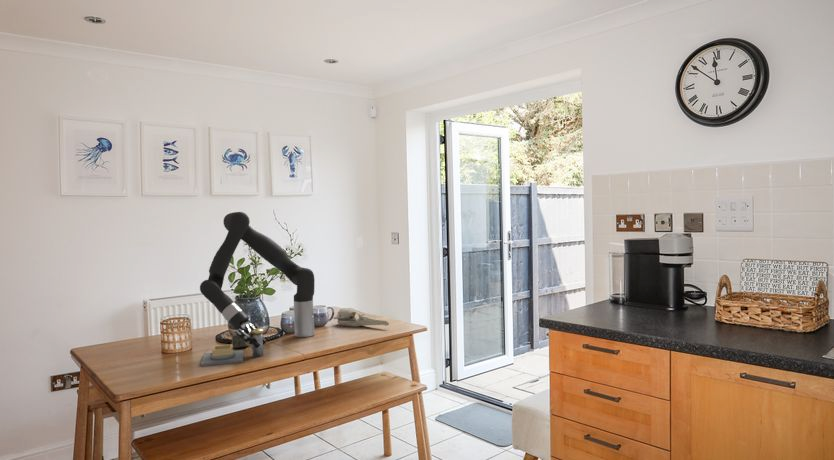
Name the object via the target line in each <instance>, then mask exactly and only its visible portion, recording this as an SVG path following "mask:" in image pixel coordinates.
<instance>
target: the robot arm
mask: <svg viewBox="0 0 834 460" xmlns="http://www.w3.org/2000/svg"><path fill="white" fill-rule="evenodd" d="M223 226H224V228H225V229H226V231H228V232H227V234H226V237H225V239H224V241H223V242H222V244H221V246H220V247H219V248H218V249H217V251H216V252H215V254H214V257H213V258H212V262H211V264H210V267H209V269H208V273H209V276H208V278H207V279H205V280H203V281H201V282H200V285H199V291H200V293H201V294H202V295H203V296H204V298H206V299H207V300H208V302H210V303H212V305H213V306H214V307H215V308H216V310H217V311H218V312H219V313H220V314H221V315H222V316H223V318H224V320H226V321H227V323H229V325H230V326H231V327H232V328H233V330H235V331H237V330H238V332H237V333H236V334H237V335H238V336H239V337H240V338H242V339H243V340H244V341H245V342H248V341H249V343H251V345H252V344H253V345H254V346H255V347H256V348H258V347H259V346H260V343H259V342H258V341H257V340H256V339H255V338H254V336H253V335H252V333H251V329H255V328H260V326H259V325H258V323H257V322H254V323H252V322H250V321H249V320H250V317H249V316H248V314H246V313H245V311H244V310H243V309H242V308H241V306H239V305H238V304H237V303H236V302H235V301H234V300H233V299H232V298H231V297H230V296H229V295H227V294H226V293H225V292H224V291H223V290H222V287H223V284H224V281H225V275H226V273H227V271H228V268H229V265H230V263H231V261H232V258H233V256H234V253H235V252H236V249H237V248H238V246H239V243H240V242H241V241H243V242H244V243H245V244H247V246H249V248H251V249H252V250H253V251H254V252H256V254H258V255H259V256H260V257H261V258H262V259H263V260H265V261H266V262H267V263H269V264H270V265H271V266H273V267H274V268H276V269H277V270H279V271H280V272H281V273H282V274H283V275H284V276H285V277H286V278H287V279H288V280H289V281H290V282H291V283H292V284H293V285H294V286H296V293H295V294H294V295H293V315H294V316H293V319H294V323H293V324H294V336H295V338H296V337H297V338H308V337H313V336H315V316H314V295H315V274H314V272H313V270H312V269H310V268H307V267H306V268H305V267H301V266H300V265H298V264H297V263H296V262H294V261H293V260H291V259H290V257H289V256H288V255H287V252H286V251H285V250H284V248H282V246H281V245H279V244H278V243H277V242H276V241H274V239H272V238H270V237H268V236H267V235H264V234H262V233H261V232H260V231H257V230H255V228H253V227H252V226H250V218H249V216H248V214H247V213H246V212H243V211H235V212H229V213H228V214H226V215H225V216H224V217H223ZM246 338H247V339H246ZM266 343H267V340H266V339H265V338H264V337H263V346H264V345H265V344H266Z"/></svg>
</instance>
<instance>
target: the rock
mask: <svg viewBox="0 0 834 460" xmlns="http://www.w3.org/2000/svg"><path fill="white" fill-rule="evenodd" d="M237 332H238V329H237V330H235V331H234V332H233V334H232V335H231V344H233V349H236V348H237V349H238V348H245V347H248V346H250V342H249V341H248V342H245V341H244V340H243V339H242V338H240V337H239V336H238V335H237V334H236V333H237ZM246 339H247V338H246Z"/></svg>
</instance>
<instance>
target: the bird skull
mask: <svg viewBox="0 0 834 460" xmlns="http://www.w3.org/2000/svg"><path fill="white" fill-rule="evenodd" d="M356 314H357V315H358V318H356ZM333 319H334V320H337V324H338V325H339V326H343V327H345V326H346V327H353V328H354V327H356V328H357V327H362V326H363V327H364V326H390V323H389V322H388V321H387V320H381V319H376V318H372V317H369V316H367V315H366V314H365V312H362V311H361V310H358V309H355V308H353V307H345V308H340V309H339V310H338V311H337V314H336V316H334V317H333Z"/></svg>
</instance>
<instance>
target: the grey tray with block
mask: <svg viewBox="0 0 834 460" xmlns="http://www.w3.org/2000/svg"><path fill="white" fill-rule="evenodd" d="M211 351H212V352H208V353H203V356H202V359H201V362H200V367H208V366H217V365H219V366H220V365H229V364H230V365H231V364H240V363H243V362H244V353H245V352H244V349H239V350H234V347H233V344H232V343H230V344H220V345H213V347H212V349H211Z"/></svg>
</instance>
